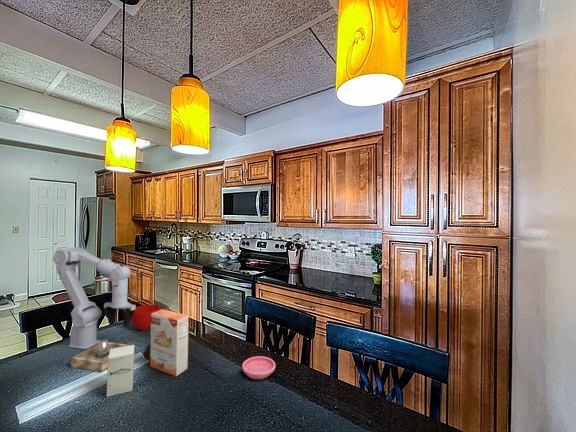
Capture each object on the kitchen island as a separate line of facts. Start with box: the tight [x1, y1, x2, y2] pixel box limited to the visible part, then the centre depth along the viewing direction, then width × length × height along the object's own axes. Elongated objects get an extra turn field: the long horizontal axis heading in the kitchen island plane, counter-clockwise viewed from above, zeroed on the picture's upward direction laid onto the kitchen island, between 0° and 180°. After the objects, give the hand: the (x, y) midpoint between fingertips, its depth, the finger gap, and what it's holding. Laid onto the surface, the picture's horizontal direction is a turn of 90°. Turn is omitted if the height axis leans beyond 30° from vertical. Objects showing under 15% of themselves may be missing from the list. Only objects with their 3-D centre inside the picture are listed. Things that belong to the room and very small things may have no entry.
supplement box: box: [106, 344, 135, 398], centre depth 90 cm, size 7×7×13 cm
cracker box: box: [149, 308, 190, 377], centre depth 102 cm, size 14×6×21 cm, turn 65°
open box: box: [70, 341, 130, 373], centre depth 107 cm, size 14×14×4 cm
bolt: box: [142, 341, 151, 361], centre depth 115 cm, size 6×5×15 cm
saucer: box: [241, 355, 276, 380], centre depth 101 cm, size 12×12×3 cm
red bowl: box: [131, 304, 161, 332], centre depth 137 cm, size 13×17×10 cm
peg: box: [97, 339, 109, 359], centre depth 107 cm, size 3×3×7 cm
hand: (119, 325), depth 119 cm, fingers open, 7 cm apart
